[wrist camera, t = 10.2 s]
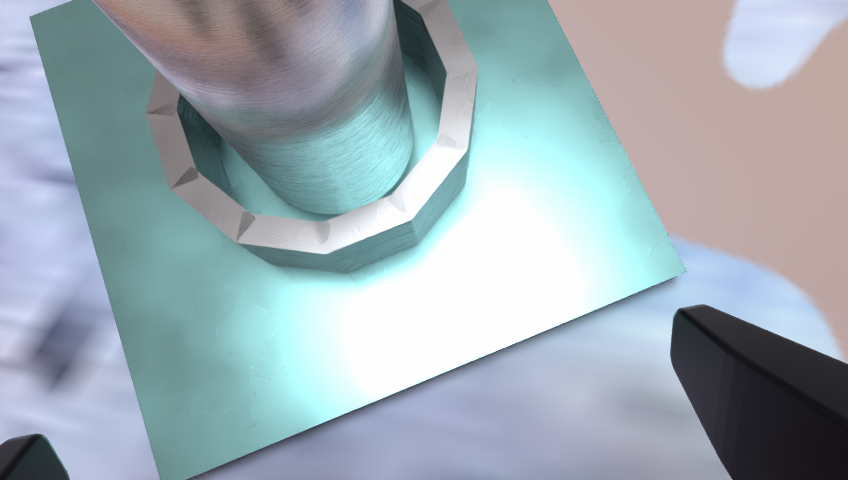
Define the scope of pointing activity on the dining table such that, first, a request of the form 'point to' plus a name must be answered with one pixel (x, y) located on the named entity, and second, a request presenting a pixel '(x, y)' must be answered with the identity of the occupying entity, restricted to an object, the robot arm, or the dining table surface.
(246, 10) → the metal bottle
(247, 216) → the duct collar
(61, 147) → the dining table surface
